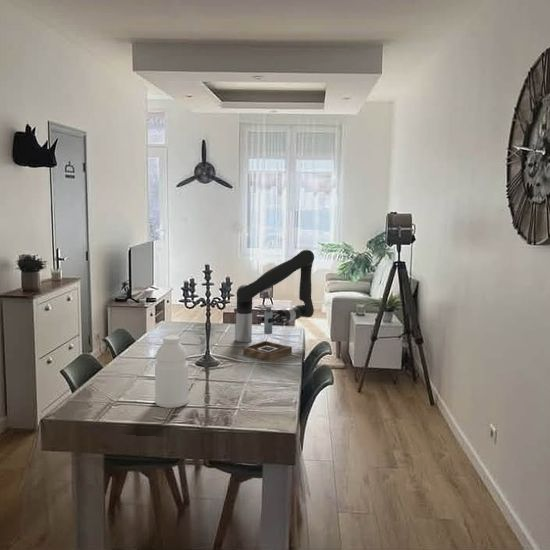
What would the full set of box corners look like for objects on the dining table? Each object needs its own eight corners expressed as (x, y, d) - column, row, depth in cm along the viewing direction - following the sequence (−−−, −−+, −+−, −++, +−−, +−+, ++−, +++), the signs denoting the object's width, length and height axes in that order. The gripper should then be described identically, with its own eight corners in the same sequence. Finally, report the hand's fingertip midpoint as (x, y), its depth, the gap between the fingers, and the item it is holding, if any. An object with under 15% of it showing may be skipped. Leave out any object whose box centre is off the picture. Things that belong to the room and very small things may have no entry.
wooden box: (243, 354, 297) (243, 347, 296) (265, 347, 312) (265, 340, 311) (270, 361, 285) (270, 354, 285) (291, 353, 300) (291, 346, 299)
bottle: (158, 410, 218) (157, 343, 214) (151, 398, 231) (151, 334, 227) (192, 405, 224) (192, 340, 220) (184, 394, 237) (184, 331, 232)
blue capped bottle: (262, 333, 296) (262, 308, 294) (267, 331, 300) (267, 306, 298) (268, 334, 294) (269, 309, 292) (273, 333, 297) (274, 308, 295)
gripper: (276, 306, 310) (255, 311, 298) (295, 310, 301) (274, 315, 288) (276, 319, 311) (255, 324, 299) (295, 324, 302) (274, 329, 289)
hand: (265, 320), depth 294 cm, fingers closed on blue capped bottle, 4 cm apart
